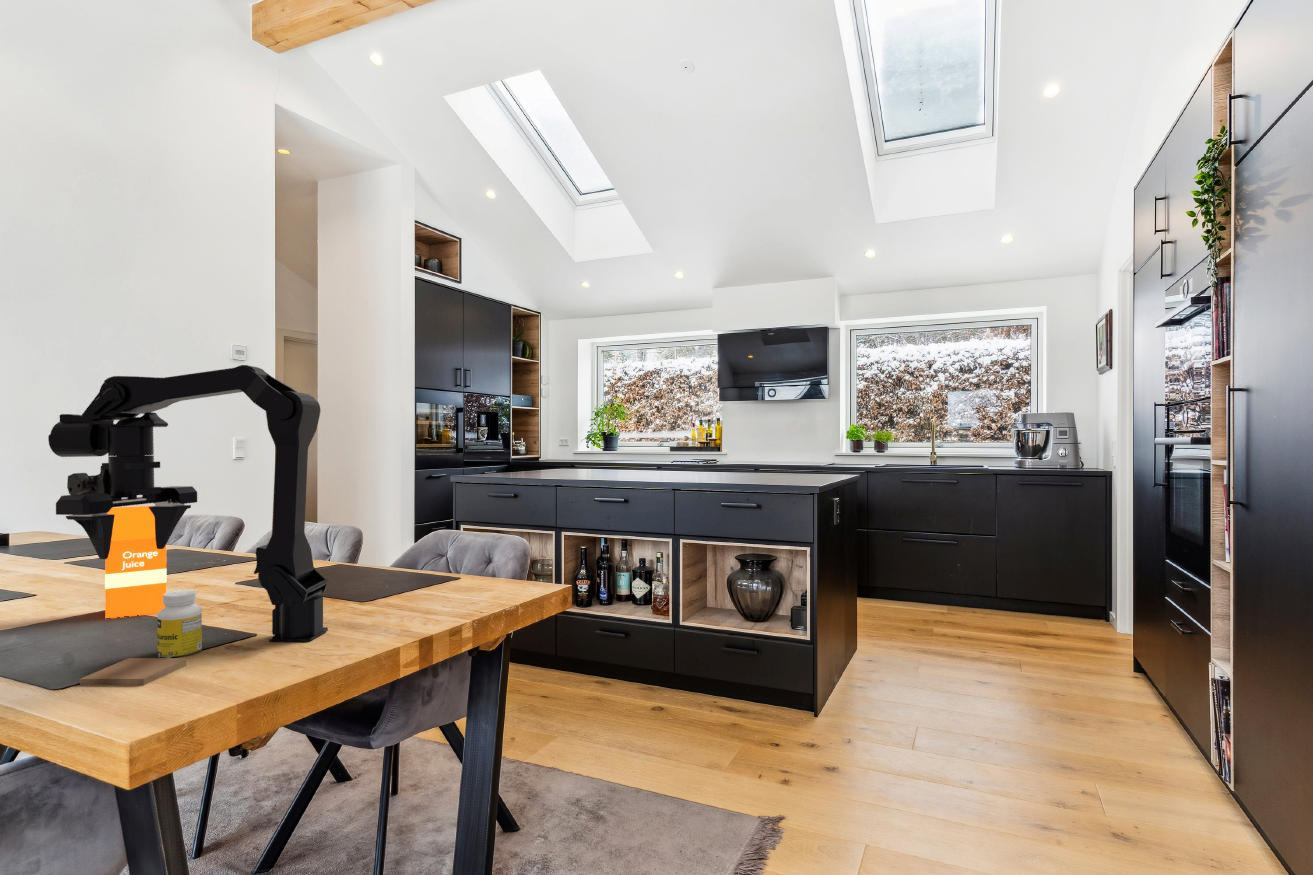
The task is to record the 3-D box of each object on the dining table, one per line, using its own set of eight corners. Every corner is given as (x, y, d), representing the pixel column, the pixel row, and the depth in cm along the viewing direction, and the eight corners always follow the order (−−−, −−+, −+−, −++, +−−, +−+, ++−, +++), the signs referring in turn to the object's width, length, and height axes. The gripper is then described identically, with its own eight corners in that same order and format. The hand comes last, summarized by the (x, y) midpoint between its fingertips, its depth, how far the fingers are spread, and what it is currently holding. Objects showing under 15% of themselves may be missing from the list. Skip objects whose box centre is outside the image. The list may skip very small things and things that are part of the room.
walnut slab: (186, 675, 93) (186, 657, 93) (143, 698, 85) (143, 678, 85) (128, 675, 93) (128, 658, 93) (79, 698, 85) (80, 678, 85)
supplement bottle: (148, 661, 98) (148, 594, 98) (186, 650, 103) (186, 587, 103) (172, 666, 96) (172, 598, 96) (210, 655, 101) (210, 590, 101)
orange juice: (106, 613, 124) (106, 506, 124) (165, 606, 130) (165, 503, 130) (104, 622, 118) (104, 509, 118) (166, 614, 123) (166, 506, 123)
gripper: (146, 454, 117) (148, 543, 117) (25, 458, 99) (27, 563, 99) (199, 454, 115) (200, 544, 115) (84, 458, 97) (87, 565, 97)
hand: (133, 553), depth 107 cm, fingers open, 9 cm apart
